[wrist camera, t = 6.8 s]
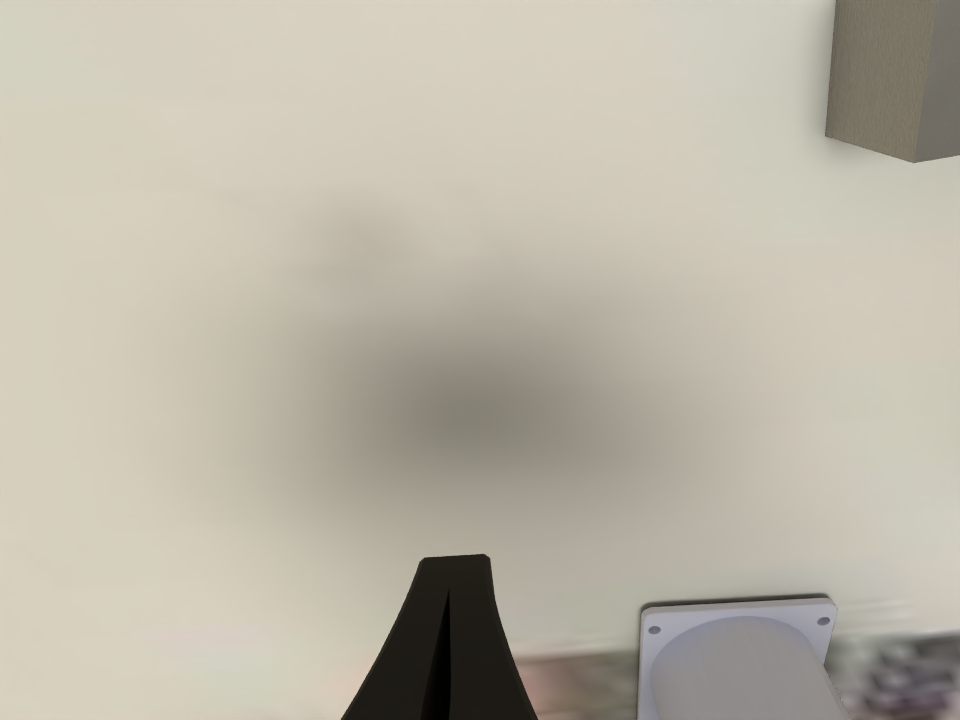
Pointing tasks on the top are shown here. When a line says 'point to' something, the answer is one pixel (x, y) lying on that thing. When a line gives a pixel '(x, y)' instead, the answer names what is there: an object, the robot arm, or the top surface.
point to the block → (896, 77)
